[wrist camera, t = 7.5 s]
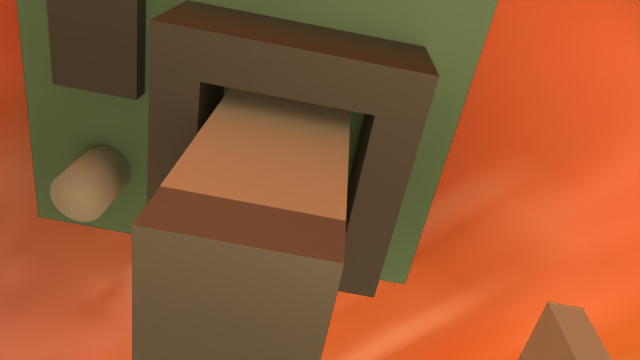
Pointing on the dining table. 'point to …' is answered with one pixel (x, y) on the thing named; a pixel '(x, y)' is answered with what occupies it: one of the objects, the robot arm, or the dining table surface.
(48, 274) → the dining table surface
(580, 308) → the robot arm
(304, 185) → the plug
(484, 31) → the board
